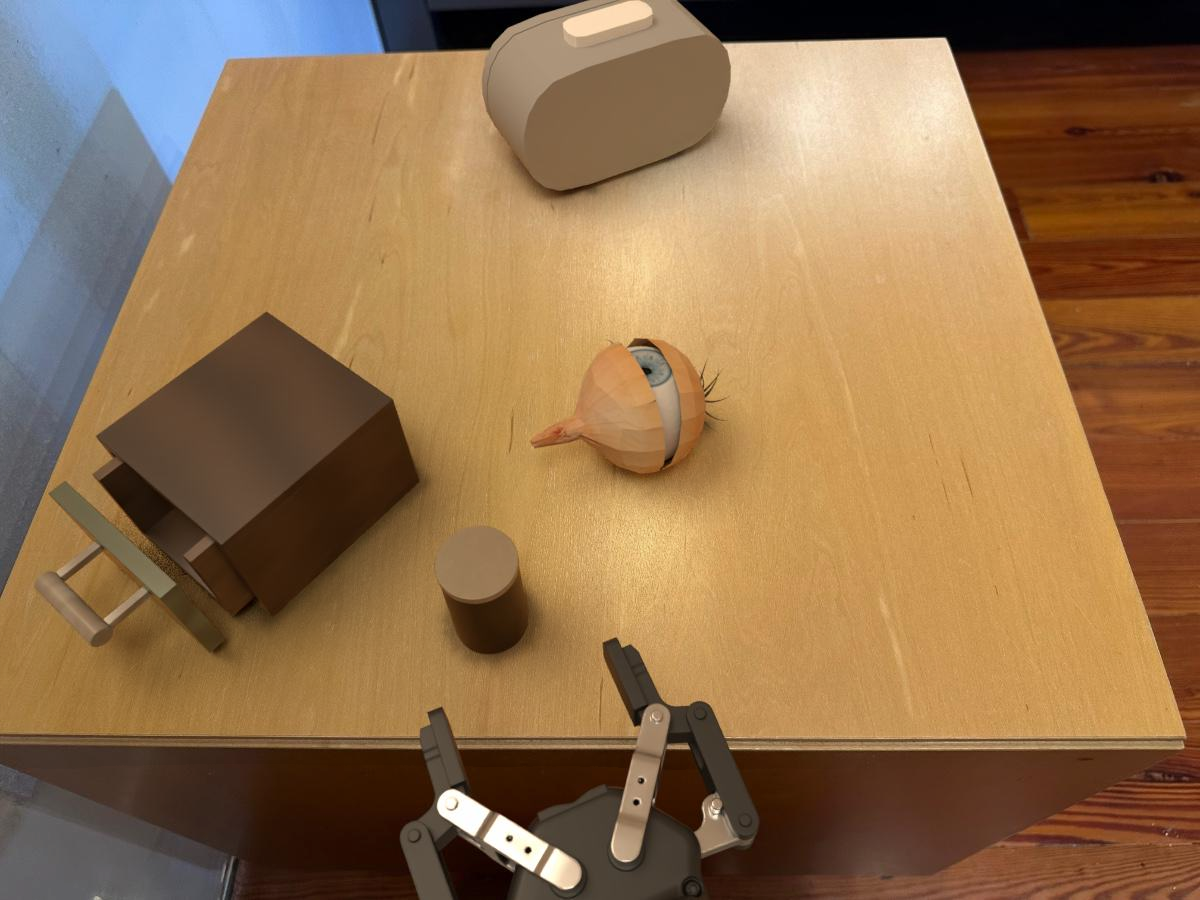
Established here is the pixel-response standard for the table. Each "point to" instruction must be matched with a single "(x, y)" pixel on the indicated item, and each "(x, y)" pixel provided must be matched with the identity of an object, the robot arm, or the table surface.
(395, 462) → the cabinet
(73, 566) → the drawer
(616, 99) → the alarm clock
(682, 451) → the sculpture
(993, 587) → the table surface
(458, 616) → the tin
